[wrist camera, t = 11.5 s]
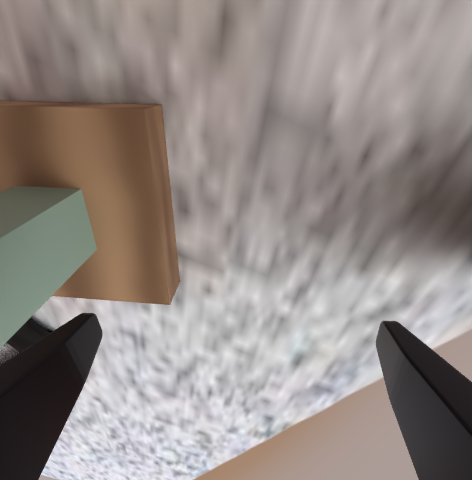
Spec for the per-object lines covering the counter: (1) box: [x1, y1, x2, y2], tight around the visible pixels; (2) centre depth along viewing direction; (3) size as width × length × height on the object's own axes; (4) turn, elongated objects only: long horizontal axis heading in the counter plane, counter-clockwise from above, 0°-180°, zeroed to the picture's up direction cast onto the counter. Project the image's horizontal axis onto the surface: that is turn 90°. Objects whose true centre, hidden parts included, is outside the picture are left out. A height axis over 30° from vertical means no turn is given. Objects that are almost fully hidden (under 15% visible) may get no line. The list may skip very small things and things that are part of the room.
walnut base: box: [0, 101, 180, 305], centre depth 21 cm, size 14×14×3 cm
